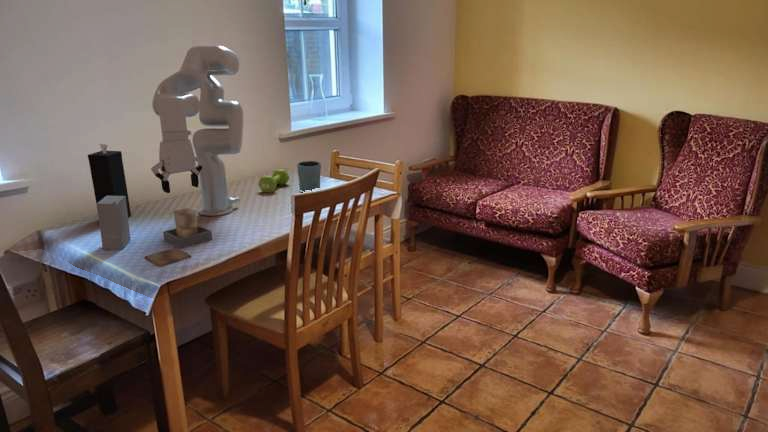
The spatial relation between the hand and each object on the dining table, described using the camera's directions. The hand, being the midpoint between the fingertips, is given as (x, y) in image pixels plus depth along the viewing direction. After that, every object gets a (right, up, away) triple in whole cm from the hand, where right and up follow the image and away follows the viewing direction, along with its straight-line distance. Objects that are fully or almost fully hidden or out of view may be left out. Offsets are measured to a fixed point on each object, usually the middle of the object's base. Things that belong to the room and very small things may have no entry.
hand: (181, 189), depth 183 cm
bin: (0, -16, +6) cm, 17 cm away
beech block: (0, -16, +6) cm, 17 cm away
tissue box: (-34, -10, +28) cm, 45 cm away
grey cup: (+33, +2, +62) cm, 71 cm away
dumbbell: (+17, +3, +67) cm, 69 cm away
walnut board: (-1, -21, -9) cm, 23 cm away
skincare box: (-21, -18, +1) cm, 28 cm away
